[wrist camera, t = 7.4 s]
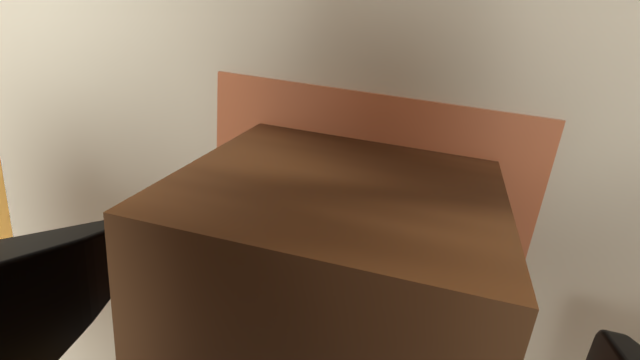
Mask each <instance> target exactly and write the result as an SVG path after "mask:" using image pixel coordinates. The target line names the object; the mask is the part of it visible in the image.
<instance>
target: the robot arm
mask: <svg viewBox="0 0 640 360" xmlns="http://www.w3.org/2000/svg"><path fill="white" fill-rule="evenodd" d="M110 299H111V298H110V286H109V275H108V263H107V252H106V240H105V229H104V220H101V221H95V222H90V223H85V224H80V225H74V226H69V227H64V228H58V229H53V230H48V231H42V232H37V233H32V234H27V235H21V236H16V237H11V238H5V239H0V360H59V359H60V358H61V357H62V356H63V355H64V354H65V353H66V351H67V350H68V349H69V348H70V347H71V346H72V345H73V344H74V343H75V342H76V341H77V339H78V338H79V337H80V336H81V335H82V334H83V333H84V332H85V331H86V329H87V328H88V327H89V326H90V325H91V324H92V323H93V321H94V320H95V319H96V317H97V316H98V315H99V314H100V312H101V311H102V310H103V308H104V307H105V306H106V304H107V303H108V302H109V300H110ZM586 360H640V344H638V343H637V342H636V341H634V340H633V339H632V338H631V337H629V336H628V335H625V334H622V333H618V332H613V331H609V330H604V329H602V330H599V331H598V332H597V333H596V335H595V337H594V339H593V342H592V344H591V347H590V350H589V352H588V355H587V358H586Z"/></svg>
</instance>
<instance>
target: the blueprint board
mask: <svg viewBox="0 0 640 360" xmlns="http://www.w3.org/2000/svg"><path fill="white" fill-rule="evenodd" d="M260 123H261V124H268V125H274V126H280V127H286V128H292V129H299V130H305V131H311V132H317V133H324V134H330V135H336V136H342V137H348V138H355V139H361V140H367V141H373V142H379V143H386V144H392V145H398V146H404V147H411V148H417V149H423V150H429V151H435V152H442V153H448V154H454V155H460V156H466V157H473V158H479V159H485V160H491V161H498V162H499V165H500V169H501V173H502V176H503V180H504V183H505V187H506V191H507V194H508V198H509V202H510V205H511V209H512V213H513V216H514V220H515V223H516V227H517V231H518V234H519V238H520V242H521V245H522V249H523V253H524V256H525V260H526V263H527V267H528V271H529V274H530V278H531V282H532V285H533V289H534V292H535V296H536V300H537V303H538V307H539V312H538V315H537V318H536V322H535V325H534V328H533V331H532V334H531V338H530V341H529V344H528V347H527V351H526V354H525V357H524V360H586V358H587V355H588V352H589V350H590V347H591V344H592V342H593V339H594V337H595V335H596V333H597V332H598V331H599V330H602V329H604V330H609V331H613V332H618V333H622V334H625V335H628V336H629V337H631V338H632V339H633V340H634V341H636V342H637V343H638V344H640V0H0V159H1V165H2V171H3V177H4V183H5V190H6V196H7V202H8V208H9V214H10V220H11V226H12V232H13V237H16V236H21V235H27V234H32V233H37V232H42V231H48V230H53V229H58V228H64V227H69V226H74V225H80V224H85V223H90V222H95V221H101V220H104V218H103V212H105V211H106V210H108V209H110V208H112V207H113V206H115V205H117V204H119V203H120V202H122V201H124V200H126V199H127V198H129V197H131V196H133V195H135V194H136V193H138V192H140V191H142V190H143V189H145V188H147V187H149V186H150V185H152V184H154V183H156V182H157V181H159V180H161V179H163V178H165V177H166V176H168V175H170V174H172V173H173V172H175V171H177V170H179V169H180V168H182V167H184V166H186V165H187V164H189V163H191V162H193V161H194V160H196V159H198V158H200V157H202V156H203V155H205V154H207V153H209V152H210V151H212V150H214V149H216V148H217V147H219V146H221V145H223V144H224V143H226V142H228V141H230V140H232V139H233V138H235V137H237V136H239V135H240V134H242V133H244V132H246V131H247V130H249V129H251V128H253V127H254V126H256V125H258V124H260ZM59 360H116V355H115V344H114V332H113V321H112V309H111V299H110V300H109V302H108V303H107V304H106V306H105V307H104V308H103V310H102V311H101V312H100V314H99V315H98V316H97V317H96V319H95V320H94V321H93V323H92V324H91V325H90V326H89V327H88V328H87V329H86V331H85V332H84V333H83V334H82V335H81V336H80V337H79V338H78V339H77V341H76V342H75V343H74V344H73V345H72V346H71V347H70V348H69V349H68V350H67V351H66V353H65V354H64V355H63V356H62V357H61V358H60V359H59Z"/></svg>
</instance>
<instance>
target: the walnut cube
mask: <svg viewBox="0 0 640 360" xmlns="http://www.w3.org/2000/svg"><path fill="white" fill-rule="evenodd" d="M103 218H104V229H105V240H106V252H107V263H108V275H109V286H110V298H111V309H112V321H113V332H114V344H115V355H116V360H524V357H525V354H526V351H527V347H528V344H529V341H530V338H531V334H532V331H533V328H534V325H535V322H536V318H537V315H538V312H539V307H538V303H537V300H536V296H535V292H534V289H533V285H532V282H531V278H530V274H529V271H528V267H527V263H526V260H525V256H524V253H523V249H522V245H521V242H520V238H519V234H518V231H517V227H516V223H515V220H514V216H513V213H512V209H511V205H510V202H509V198H508V194H507V191H506V187H505V183H504V180H503V176H502V173H501V169H500V165H499V162H498V161H491V160H485V159H479V158H473V157H466V156H460V155H454V154H448V153H442V152H435V151H429V150H423V149H417V148H411V147H404V146H398V145H392V144H386V143H379V142H373V141H367V140H361V139H355V138H348V137H342V136H336V135H330V134H324V133H317V132H311V131H305V130H299V129H292V128H286V127H280V126H274V125H268V124H261V123H260V124H258V125H256V126H254V127H253V128H251V129H249V130H247V131H246V132H244V133H242V134H240V135H239V136H237V137H235V138H233V139H232V140H230V141H228V142H226V143H224V144H223V145H221V146H219V147H217V148H216V149H214V150H212V151H210V152H209V153H207V154H205V155H203V156H202V157H200V158H198V159H196V160H194V161H193V162H191V163H189V164H187V165H186V166H184V167H182V168H180V169H179V170H177V171H175V172H173V173H172V174H170V175H168V176H166V177H165V178H163V179H161V180H159V181H157V182H156V183H154V184H152V185H150V186H149V187H147V188H145V189H143V190H142V191H140V192H138V193H136V194H135V195H133V196H131V197H129V198H127V199H126V200H124V201H122V202H120V203H119V204H117V205H115V206H113V207H112V208H110V209H108V210H106V211H105V212H103Z"/></svg>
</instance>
